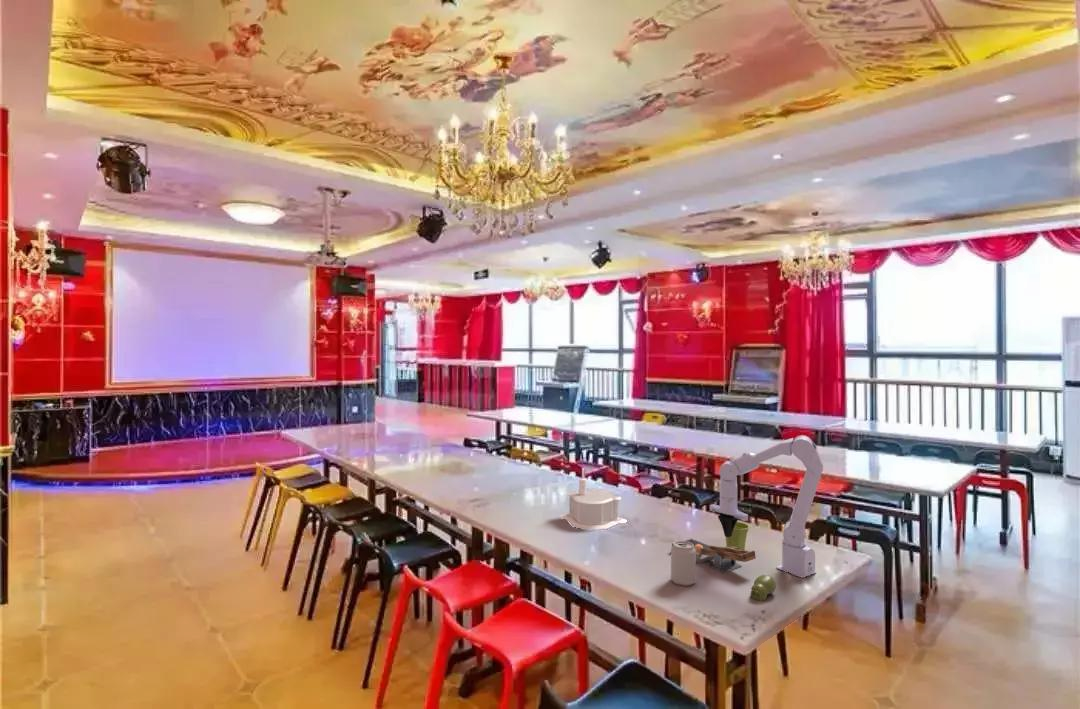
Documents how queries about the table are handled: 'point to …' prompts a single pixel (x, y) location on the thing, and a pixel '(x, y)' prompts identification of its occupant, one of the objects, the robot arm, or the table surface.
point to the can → (683, 563)
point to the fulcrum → (723, 564)
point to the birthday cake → (593, 508)
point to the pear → (763, 587)
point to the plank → (730, 553)
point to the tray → (698, 557)
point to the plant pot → (738, 536)
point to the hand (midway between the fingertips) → (728, 536)
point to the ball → (698, 548)
